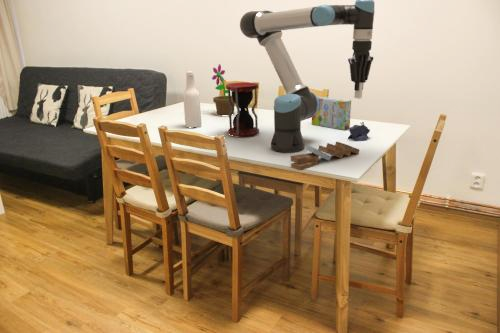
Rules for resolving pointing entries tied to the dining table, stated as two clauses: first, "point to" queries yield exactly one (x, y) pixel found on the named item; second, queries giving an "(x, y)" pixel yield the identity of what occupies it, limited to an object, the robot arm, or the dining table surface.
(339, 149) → the domino
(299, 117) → the robot arm
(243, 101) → the hourglass
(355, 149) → the domino
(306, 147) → the domino
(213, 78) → the flowerpot
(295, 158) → the domino
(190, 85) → the alcohol
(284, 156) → the dining table surface
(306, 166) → the domino
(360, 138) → the frog
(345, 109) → the snack box
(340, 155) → the domino
